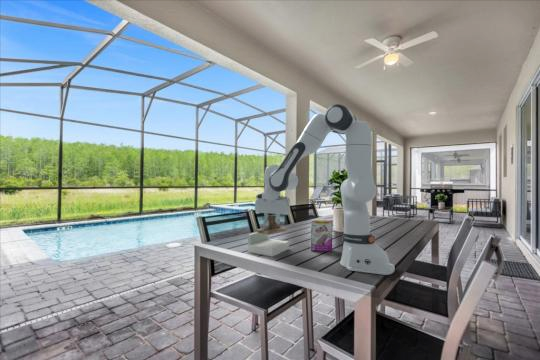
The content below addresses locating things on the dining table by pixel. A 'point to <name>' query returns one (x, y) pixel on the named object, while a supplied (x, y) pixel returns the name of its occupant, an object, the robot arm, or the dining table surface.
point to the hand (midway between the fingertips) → (271, 222)
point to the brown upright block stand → (271, 226)
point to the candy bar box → (321, 235)
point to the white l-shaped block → (265, 245)
